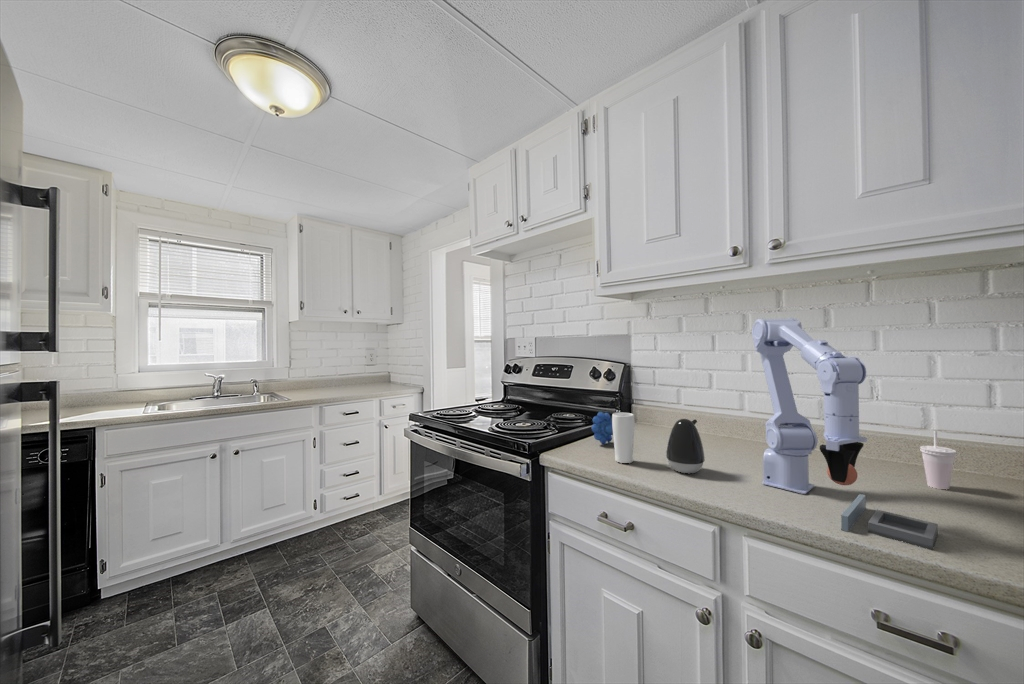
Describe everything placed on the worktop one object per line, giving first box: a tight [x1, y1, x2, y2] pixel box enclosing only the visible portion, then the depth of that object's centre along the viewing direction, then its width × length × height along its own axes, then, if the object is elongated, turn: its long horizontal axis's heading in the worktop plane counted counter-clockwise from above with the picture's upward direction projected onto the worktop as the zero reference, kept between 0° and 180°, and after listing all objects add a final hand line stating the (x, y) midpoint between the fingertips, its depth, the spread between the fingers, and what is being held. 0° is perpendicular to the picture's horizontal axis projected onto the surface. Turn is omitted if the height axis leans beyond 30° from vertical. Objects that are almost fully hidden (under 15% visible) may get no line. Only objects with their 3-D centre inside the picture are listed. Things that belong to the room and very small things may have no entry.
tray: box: [867, 509, 939, 551], centre depth 78 cm, size 9×9×2 cm
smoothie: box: [919, 430, 958, 491], centre depth 100 cm, size 6×6×14 cm
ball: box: [826, 464, 858, 486], centre depth 85 cm, size 5×5×5 cm
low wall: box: [840, 493, 867, 533], centre depth 85 cm, size 1×16×3 cm, turn 129°
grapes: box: [591, 411, 613, 445], centre depth 146 cm, size 12×7×12 cm, turn 125°
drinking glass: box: [611, 411, 635, 464], centre depth 126 cm, size 7×7×15 cm
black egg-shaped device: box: [665, 418, 706, 475], centre depth 116 cm, size 10×10×15 cm
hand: (842, 478), depth 85 cm, fingers closed on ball, 5 cm apart
